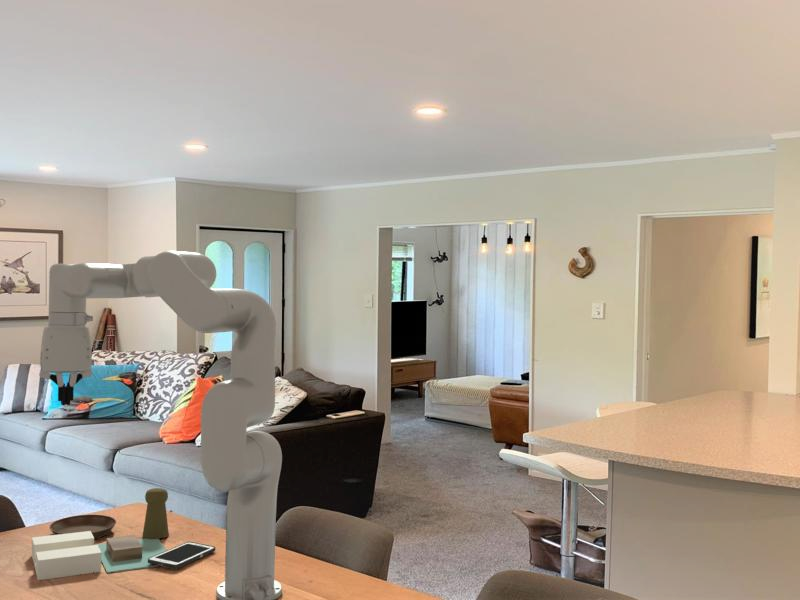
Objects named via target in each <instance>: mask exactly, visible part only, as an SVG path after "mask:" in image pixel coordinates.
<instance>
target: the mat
mask: <svg viewBox="0 0 800 600" xmlns="http://www.w3.org/2000/svg"><path fill="white" fill-rule="evenodd" d="M137 540H138V541H139V542H140V544H141V545H142V558H140V559H133V560H125V561H118V562H113V561H112V559H111V557H110V555H109V553H108V552H107V550H106V542H105V543H96V544H95V545H98V547H99V549H100V551H101V564H102V563H103V564H102V565H104V566H103V567H105V568H104V570H105V569H106V570H105V572H106V574H111V572H114V573H118V572H117V571H121V572H126V571H125V570H128V571H135V570H141V569H147V567H148V569H149V567H150V568H155V567H156V566H157V567H159V566H158V565H153V564H149V563H148V559H149V558H150V557H153V556H155V555H157V554H160V553H162V552H165V551H167V550H168V549H167V548H166V547H165V545H164V544H163V543H162V542H161V540H160V538H158V539H148V538H137ZM134 569H135V570H134Z"/></svg>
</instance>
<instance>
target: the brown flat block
mask: <svg viewBox="0 0 800 600" xmlns="http://www.w3.org/2000/svg"><path fill="white" fill-rule="evenodd" d="M137 539H138V538H137V537H136V535H135V534H133V535H123V536H117V537H116V536H115V537H107V538H106V542H105V543H106V550H107V552H108V553H109V555H110V557H111V559H112V561H113V562H118V561H125V560H133V559H140V558H142V545H141V544H140V542H139V541H138V540H137Z"/></svg>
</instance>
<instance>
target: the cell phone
mask: <svg viewBox="0 0 800 600" xmlns="http://www.w3.org/2000/svg"><path fill="white" fill-rule="evenodd" d="M166 550H167V551H165V552H162V553H160V554H157V555H155V556H153V557H150V558H149V559H148V563H149V564H153V565H158V566H157V567H163V568H168V569H175V570H176V569H179V568H182V567H184V566H185V565H188V564H190V563H193V562H194V561H196V560H199V559H201V558H204V557H205V556H207V555H210V554H212V553H214V552H216V546H214V545H209V544H204V543H199V542H193V541H186V542H184V543H181V544H179V545H176V546H175V547H172V548H169V549H166Z"/></svg>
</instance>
